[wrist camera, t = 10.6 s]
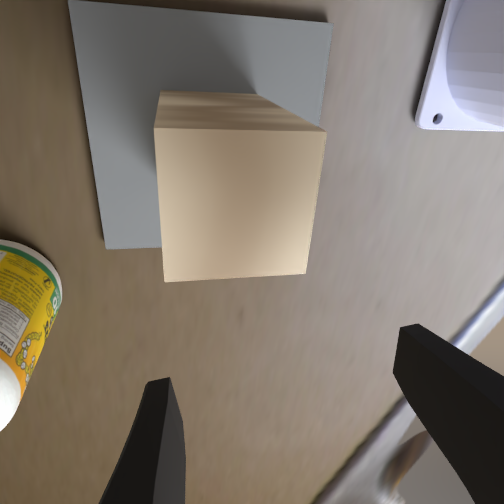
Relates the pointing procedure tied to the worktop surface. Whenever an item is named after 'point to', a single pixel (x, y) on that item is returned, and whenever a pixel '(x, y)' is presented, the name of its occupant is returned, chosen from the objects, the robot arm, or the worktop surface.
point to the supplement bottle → (23, 318)
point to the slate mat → (177, 89)
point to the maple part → (234, 185)
